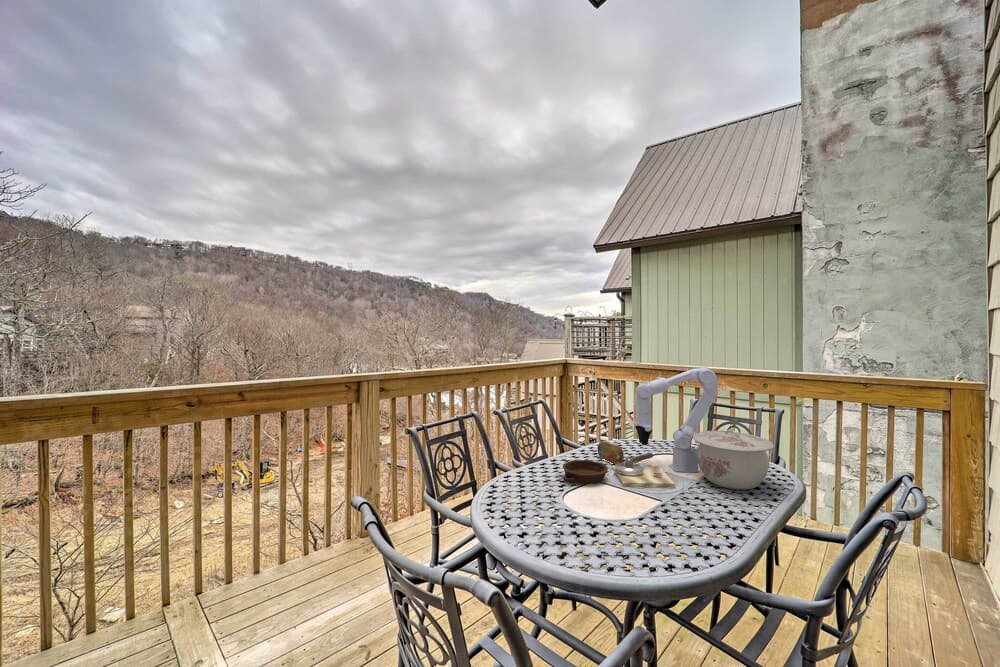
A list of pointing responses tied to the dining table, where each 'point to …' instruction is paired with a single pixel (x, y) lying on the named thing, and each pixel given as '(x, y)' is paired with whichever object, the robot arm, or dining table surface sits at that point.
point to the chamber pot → (733, 458)
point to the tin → (610, 452)
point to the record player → (646, 478)
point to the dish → (584, 472)
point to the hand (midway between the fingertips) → (643, 443)
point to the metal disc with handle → (632, 465)
